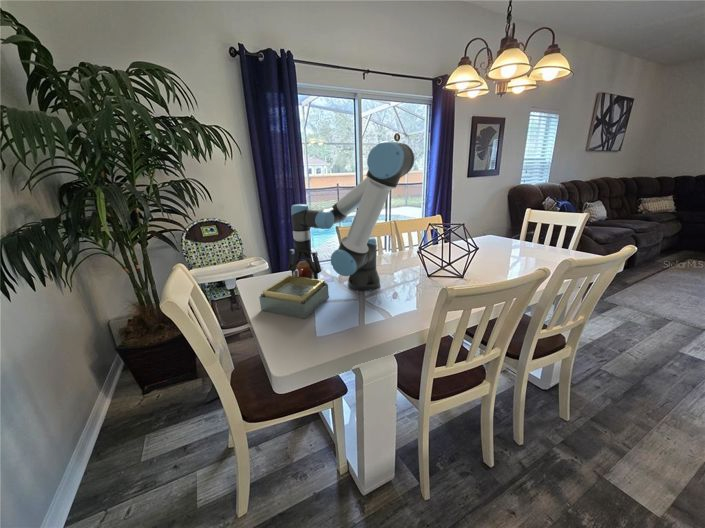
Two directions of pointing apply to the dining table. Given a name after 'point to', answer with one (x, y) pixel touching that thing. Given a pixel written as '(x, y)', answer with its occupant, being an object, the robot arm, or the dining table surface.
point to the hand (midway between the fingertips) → (305, 284)
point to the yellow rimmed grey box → (294, 296)
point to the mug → (304, 270)
